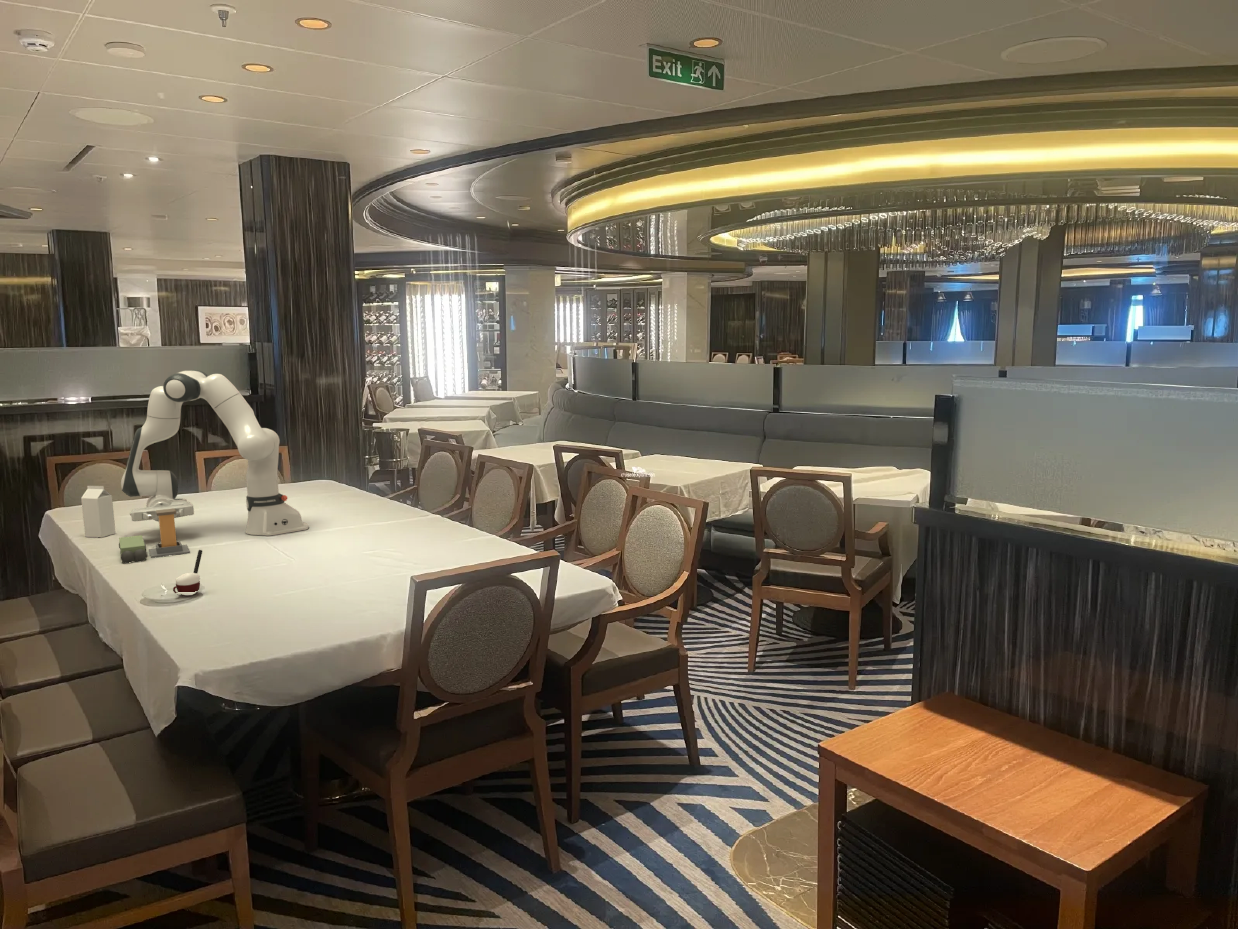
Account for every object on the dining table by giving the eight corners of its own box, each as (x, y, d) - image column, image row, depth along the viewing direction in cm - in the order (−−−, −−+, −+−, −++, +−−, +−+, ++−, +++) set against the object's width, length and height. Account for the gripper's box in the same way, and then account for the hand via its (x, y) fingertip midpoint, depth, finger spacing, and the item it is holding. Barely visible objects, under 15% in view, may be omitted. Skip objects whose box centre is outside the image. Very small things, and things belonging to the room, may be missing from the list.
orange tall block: (177, 547, 303) (174, 508, 301) (179, 550, 298) (175, 511, 296) (159, 549, 300) (155, 510, 298) (160, 553, 295) (156, 513, 293)
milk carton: (101, 538, 321) (96, 487, 318) (85, 537, 322) (79, 487, 319) (116, 533, 328) (111, 484, 325) (99, 533, 329) (94, 484, 326)
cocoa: (175, 601, 245) (170, 560, 242) (170, 595, 250) (165, 555, 247) (211, 593, 250) (206, 553, 248) (206, 587, 255) (201, 548, 253)
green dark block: (144, 548, 305) (143, 534, 304) (148, 560, 287) (146, 546, 287) (119, 551, 301) (117, 537, 300) (121, 564, 283) (119, 549, 283)
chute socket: (186, 546, 307) (186, 538, 307) (190, 553, 297) (189, 545, 296) (148, 550, 301) (148, 543, 300) (150, 558, 291) (150, 550, 290)
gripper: (128, 504, 313) (130, 510, 302) (190, 498, 324) (194, 503, 312) (130, 521, 314) (131, 528, 303) (192, 514, 325) (196, 520, 313)
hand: (164, 515), depth 308 cm, fingers open, 8 cm apart
